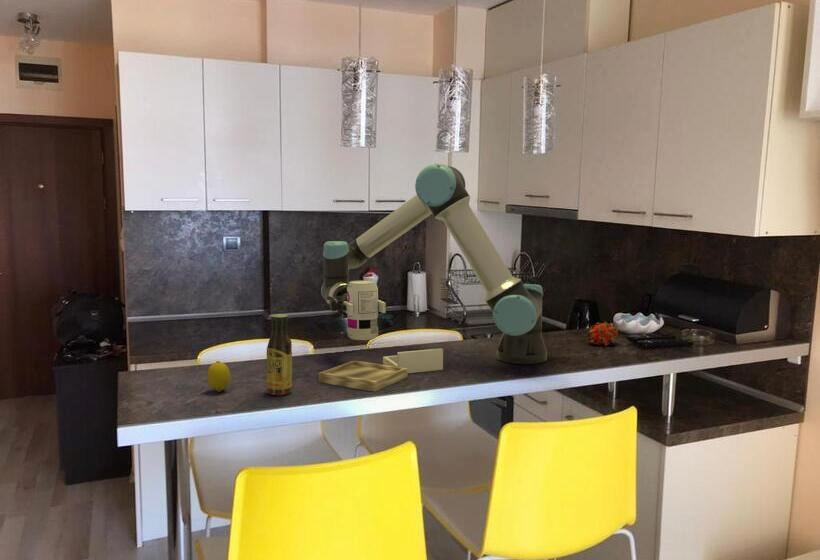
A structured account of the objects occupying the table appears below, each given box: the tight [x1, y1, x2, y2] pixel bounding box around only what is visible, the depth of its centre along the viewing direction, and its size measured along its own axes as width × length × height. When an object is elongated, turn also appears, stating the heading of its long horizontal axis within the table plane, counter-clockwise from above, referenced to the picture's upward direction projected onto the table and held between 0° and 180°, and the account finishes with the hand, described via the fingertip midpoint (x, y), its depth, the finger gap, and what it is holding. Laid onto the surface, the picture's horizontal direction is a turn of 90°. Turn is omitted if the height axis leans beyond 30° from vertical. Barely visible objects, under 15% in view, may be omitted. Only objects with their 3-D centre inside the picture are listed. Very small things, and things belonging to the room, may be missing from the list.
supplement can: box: [346, 280, 379, 341], centre depth 177 cm, size 8×8×15 cm
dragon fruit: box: [586, 320, 619, 347], centre depth 221 cm, size 8×8×12 cm
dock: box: [382, 348, 444, 374], centre depth 192 cm, size 14×14×6 cm
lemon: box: [206, 360, 231, 393], centre depth 167 cm, size 6×6×8 cm
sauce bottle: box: [266, 313, 293, 397], centre depth 165 cm, size 6×6×20 cm
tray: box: [318, 360, 409, 393], centre depth 178 cm, size 18×16×2 cm
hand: (367, 308), depth 172 cm, fingers closed on supplement can, 8 cm apart
